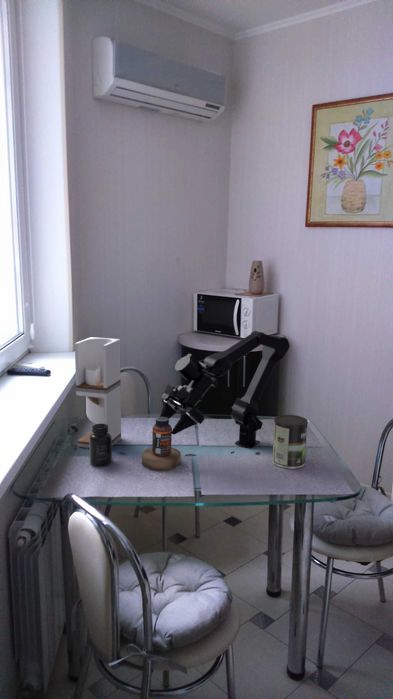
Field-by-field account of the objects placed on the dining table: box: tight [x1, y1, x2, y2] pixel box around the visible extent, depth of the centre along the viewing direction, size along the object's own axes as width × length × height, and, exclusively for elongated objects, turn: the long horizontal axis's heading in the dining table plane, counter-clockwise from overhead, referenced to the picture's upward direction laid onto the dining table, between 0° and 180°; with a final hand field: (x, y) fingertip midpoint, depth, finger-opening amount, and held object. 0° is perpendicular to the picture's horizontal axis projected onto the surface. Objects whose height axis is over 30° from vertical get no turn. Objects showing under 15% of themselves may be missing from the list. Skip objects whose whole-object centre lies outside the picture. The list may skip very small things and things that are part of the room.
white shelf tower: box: [74, 336, 122, 449], centre depth 182 cm, size 11×11×35 cm
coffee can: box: [271, 414, 309, 470], centre depth 171 cm, size 10×10×14 cm
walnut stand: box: [141, 446, 182, 472], centre depth 170 cm, size 12×12×3 cm
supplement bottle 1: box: [89, 423, 113, 468], centre depth 168 cm, size 7×7×12 cm
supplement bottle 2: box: [151, 416, 173, 457], centre depth 168 cm, size 6×6×11 cm
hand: (165, 429), depth 168 cm, fingers open, 9 cm apart
